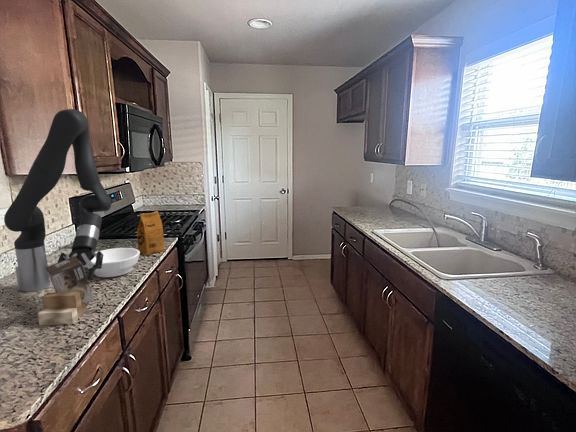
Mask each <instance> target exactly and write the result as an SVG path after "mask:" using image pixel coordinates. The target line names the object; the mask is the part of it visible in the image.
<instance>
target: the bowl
mask: <svg viewBox="0 0 576 432" xmlns="http://www.w3.org/2000/svg"><path fill="white" fill-rule="evenodd" d="M99 251H100V252H101V253H102V254H103V261H102V267H101V269H96V270H95V271H94V275H95V276H96V277H99V278H113V277H119V276H123V275H126V274H129V273H130V272H132V271H133V269H134V267H135V265H136V264H137V263H138V262H139V258H140V254H141V253H140V251H139V250H138V248H133V247H118V248H117V247H115V248H109V249H108V248H107V249H103V250H99ZM97 252H98V251H95V253H97ZM91 261H92V263H93V264H94V265H95V263H96V257H94V258H93V259H92V260H91ZM85 266H86V267H87V270H88V269H90V267H89V266H88V264H86V265H85Z"/></svg>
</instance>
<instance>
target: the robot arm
mask: <svg viewBox="0 0 576 432" xmlns="http://www.w3.org/2000/svg"><path fill="white" fill-rule="evenodd" d="M47 133H48V134H47V137H46V139H45V141H44V143H43V145H42V147H41V148H40V149H39V152H38V154H37V155H36V158H35V159H34V161H33V163H32V164H31V167H30V168H29V169H30V170H29V171H28V173H27V176H26V178H25V180H24V182H23V184H22V186H21V188H20V189H19V192H18V193H17V195H16V197H14V200H13V201H12V203H11V204H10V206H9V207H8V209H7V210H6V212H5V214H4V220H3V221H4V225H5V227H6V228H7V229H8V231H11V232H13V233H14V232H16V233H17V232H20V234H19V236H18V237H17V238H16V239H15V240H14V241H13V244H14V252H15V257H16V263H17V266H16V267H15V274H16V280H17V285H18V291H22V292H26V293H28V292H29V293H30V292H36V291H37V292H38V291H42V290H45V289H46V288H48V287H50V286H51V280H50V277H49V275H48V272H47V270H46V267H48V266H49V265H48V259H47V251H46V246H45V239H46V235H47V234H46V223H45V222H46V221H45V215H44V213H43V211H42V210H41V208H39V206H38V204H39V203H40V202H41V201H42V200H43V199H44V198H45V197H46V196H47V195H48V194H49V193H51V191H52V190H53V189H54V188H55V187H56V186H57V184H58V182H59V180H60V179H61V177H62V175H63V173H64V170H65V167H66V161H67V156H68V153H69V150H70V148H71V146H72V149H73V157H74V158H73V159H74V169H75V173H76V177H77V180H78V182H79V185H80V188H81V190H83V191H89V192H92V194H87V195H84V196H83V197H82V198H81V200H80V215H81V217H80V220H79V221H80V222H79V225H78V227H79V228H78V227H77V228H78V230H77V229H76V233H75V235H74V239H73V243H72V246H71V251H70V253H65V252H61V253H60V255H59V257H58V260H57V262H56V263H58V262H61V261H63V260H66V259H68V258H71V257H73V256H75V257H76V258H77V259H78V260H79V261H80V262H81V263H82V265H83V266H86V264H88V266H89V267H90V269H88V268H87V273H86V277H87V280H88V282H89V281H92V279H93V278H94V275H95V274H94V271H95V270H96V269H101V267H102V261H103V254H102V253H101V252H100V251H101V250H99V251H96V249H97V246H98V243H99V237H100V232H101V231H100V230H101V228H102V227H101V226H102V222H103V218H102V216H101V215H100V214H97V213H100V212H101V213H102V212H107V211H109V210H110V209H111V207H112V200H111V197H110V196H109V195H110V194H108V192H107V191H106V189H105V187H104V185H102V183H101V179H100V175H99V172H98V169H97V166H96V163H95V158H94V155H93V150H92V149H93V148H92V145H91V138H90V128H89V120H88V118H87V116H86V115H85V113H83V112H82V111H80V110H78V109H75V108H68V109H63V110H60V111H58V112H57V113H55V115H54V116H53V119H52V122H51V125H50V128H49V131H48V132H47ZM95 252H97V253H95ZM94 257H96V263H95V265H94V264H93V263H92V261H91V260H92V259H93V258H94Z"/></svg>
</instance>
